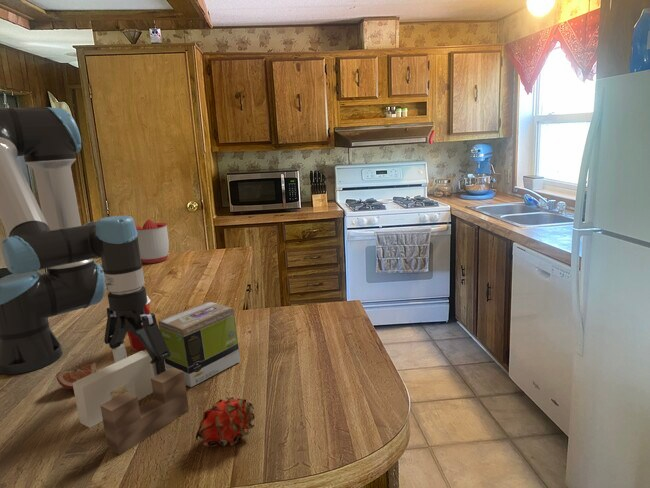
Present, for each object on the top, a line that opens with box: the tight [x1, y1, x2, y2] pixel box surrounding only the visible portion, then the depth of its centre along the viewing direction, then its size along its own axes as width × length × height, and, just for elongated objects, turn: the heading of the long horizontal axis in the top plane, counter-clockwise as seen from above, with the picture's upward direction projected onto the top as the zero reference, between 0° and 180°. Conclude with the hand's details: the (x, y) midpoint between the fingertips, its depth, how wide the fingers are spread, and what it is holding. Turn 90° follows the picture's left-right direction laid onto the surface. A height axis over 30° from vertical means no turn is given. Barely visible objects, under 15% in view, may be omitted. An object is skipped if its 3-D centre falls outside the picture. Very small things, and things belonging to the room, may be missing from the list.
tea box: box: [158, 300, 241, 388], centre depth 113 cm, size 15×10×15 cm
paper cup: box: [127, 295, 151, 352], centre depth 128 cm, size 8×8×14 cm
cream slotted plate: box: [73, 350, 153, 429], centre depth 100 cm, size 16×4×9 cm, turn 146°
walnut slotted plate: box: [100, 367, 190, 456], centre depth 91 cm, size 16×4×9 cm, turn 146°
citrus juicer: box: [135, 219, 170, 265], centre depth 222 cm, size 16×17×20 cm
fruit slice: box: [56, 362, 98, 390], centre depth 109 cm, size 8×7×5 cm
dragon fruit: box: [195, 396, 256, 447], centre depth 87 cm, size 8×8×12 cm
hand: (141, 380), depth 104 cm, fingers open, 13 cm apart
